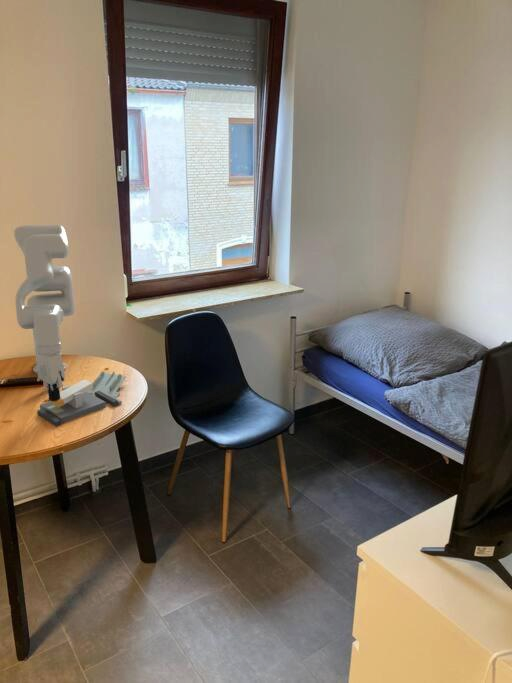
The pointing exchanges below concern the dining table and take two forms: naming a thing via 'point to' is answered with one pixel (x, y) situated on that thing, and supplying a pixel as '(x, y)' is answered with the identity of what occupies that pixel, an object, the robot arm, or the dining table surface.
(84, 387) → the rocker lever
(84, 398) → the panel
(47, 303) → the robot arm
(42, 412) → the pair of grey rails
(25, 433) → the dining table surface
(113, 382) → the metal bracket
